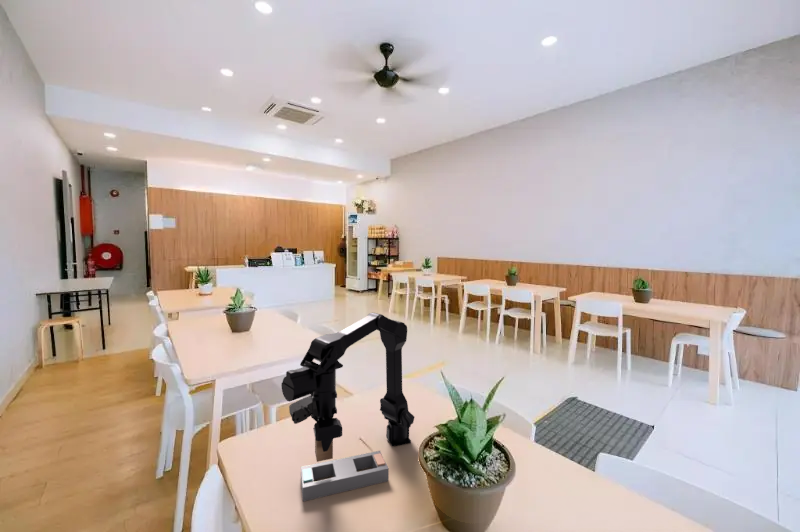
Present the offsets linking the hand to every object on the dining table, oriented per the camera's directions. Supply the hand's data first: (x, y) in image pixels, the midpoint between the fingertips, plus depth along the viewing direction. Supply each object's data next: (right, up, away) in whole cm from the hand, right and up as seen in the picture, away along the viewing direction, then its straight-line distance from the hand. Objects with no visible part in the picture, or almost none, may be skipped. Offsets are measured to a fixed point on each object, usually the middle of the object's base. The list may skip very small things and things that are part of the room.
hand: (324, 446), depth 86 cm
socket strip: (+5, -11, +3) cm, 12 cm away
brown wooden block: (0, -3, 0) cm, 3 cm away
